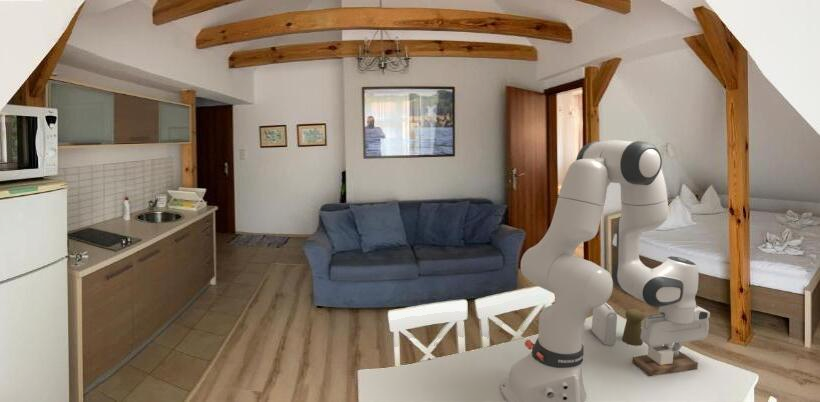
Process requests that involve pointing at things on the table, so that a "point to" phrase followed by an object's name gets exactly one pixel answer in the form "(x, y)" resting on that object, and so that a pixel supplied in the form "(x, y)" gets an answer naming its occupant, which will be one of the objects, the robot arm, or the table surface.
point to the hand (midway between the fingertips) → (671, 354)
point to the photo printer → (604, 324)
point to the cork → (633, 327)
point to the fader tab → (660, 354)
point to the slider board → (654, 369)
